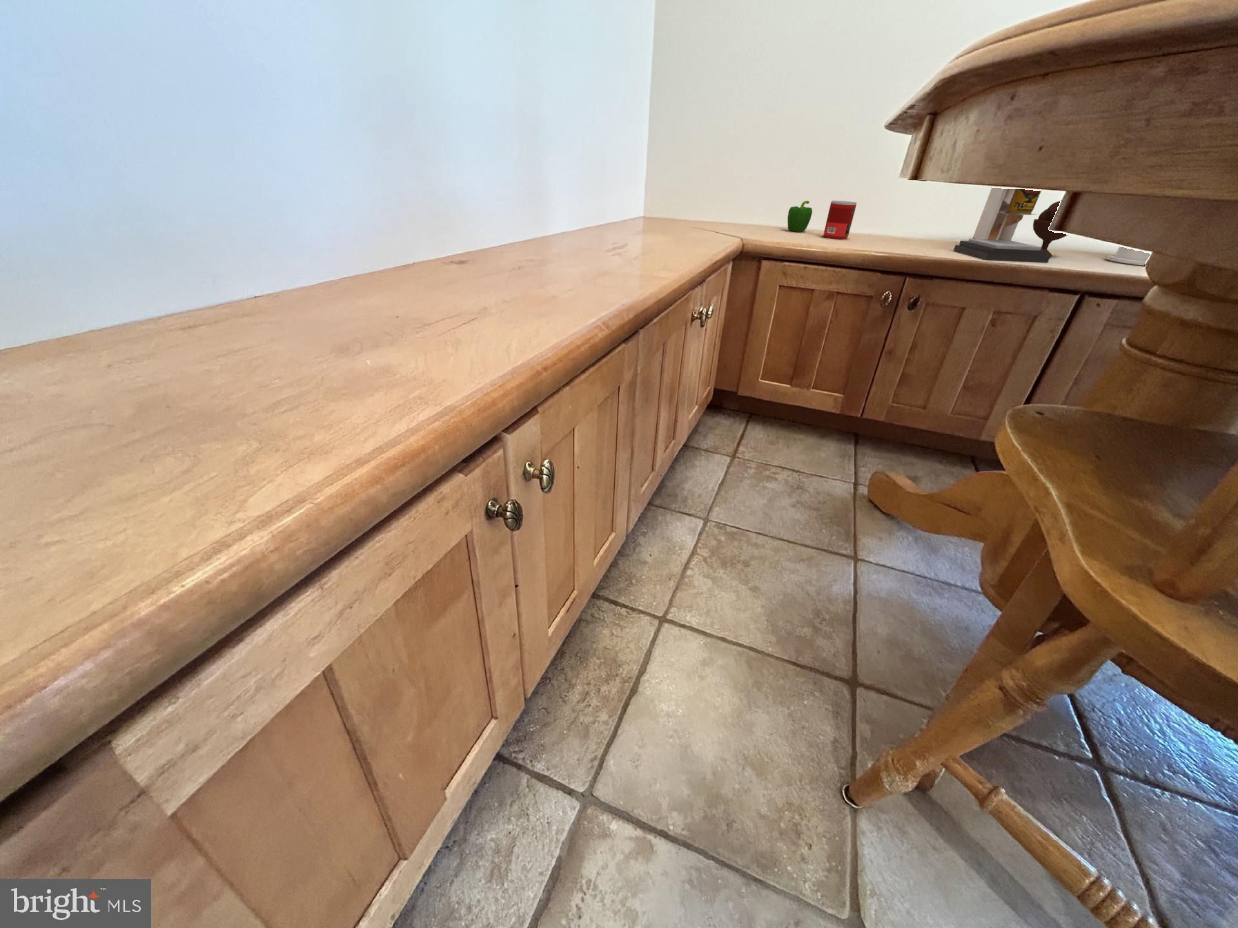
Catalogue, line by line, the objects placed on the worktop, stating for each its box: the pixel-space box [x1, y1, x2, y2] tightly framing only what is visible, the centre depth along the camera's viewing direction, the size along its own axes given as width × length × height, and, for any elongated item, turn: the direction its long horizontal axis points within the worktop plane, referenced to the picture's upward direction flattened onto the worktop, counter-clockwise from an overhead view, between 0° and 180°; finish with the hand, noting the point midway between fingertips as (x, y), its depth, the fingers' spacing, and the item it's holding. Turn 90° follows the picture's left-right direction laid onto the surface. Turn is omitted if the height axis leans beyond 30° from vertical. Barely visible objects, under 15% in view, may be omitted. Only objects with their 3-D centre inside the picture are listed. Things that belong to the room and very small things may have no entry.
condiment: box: [1002, 189, 1042, 216], centre depth 139 cm, size 7×8×12 cm
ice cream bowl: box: [1032, 200, 1068, 257], centre depth 150 cm, size 11×11×15 cm
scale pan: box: [967, 238, 1042, 250], centre depth 146 cm, size 13×13×1 cm
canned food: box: [823, 200, 858, 240], centre depth 167 cm, size 8×8×11 cm
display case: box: [971, 187, 1025, 241], centre depth 156 cm, size 11×11×35 cm
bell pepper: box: [787, 200, 813, 233], centre depth 179 cm, size 8×8×10 cm
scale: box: [953, 240, 1052, 264], centre depth 147 cm, size 18×16×3 cm
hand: (1028, 184), depth 138 cm, fingers closed on condiment, 6 cm apart
